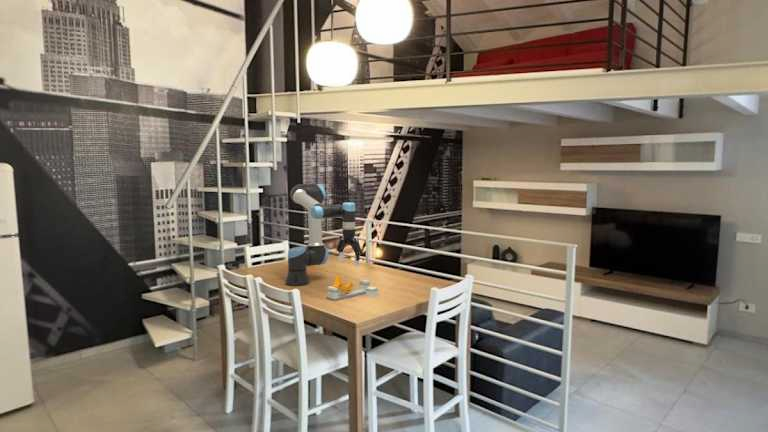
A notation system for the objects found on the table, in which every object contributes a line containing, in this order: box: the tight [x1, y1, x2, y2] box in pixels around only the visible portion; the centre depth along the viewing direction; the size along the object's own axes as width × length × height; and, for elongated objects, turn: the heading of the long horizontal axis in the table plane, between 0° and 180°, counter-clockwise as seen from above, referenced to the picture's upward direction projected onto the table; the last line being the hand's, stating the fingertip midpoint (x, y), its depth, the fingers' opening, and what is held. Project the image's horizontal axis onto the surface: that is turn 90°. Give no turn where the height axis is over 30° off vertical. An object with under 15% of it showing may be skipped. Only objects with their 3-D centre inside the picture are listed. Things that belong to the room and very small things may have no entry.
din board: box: [326, 288, 366, 302], centre depth 293 cm, size 8×28×1 cm, turn 136°
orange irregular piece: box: [332, 275, 354, 294], centre depth 289 cm, size 12×4×6 cm, turn 136°
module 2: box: [358, 279, 371, 291], centre depth 302 cm, size 6×3×6 cm, turn 46°
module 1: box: [326, 285, 339, 299], centre depth 284 cm, size 6×3×6 cm, turn 45°
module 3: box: [365, 286, 379, 299], centre depth 292 cm, size 5×5×5 cm
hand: (349, 264), depth 292 cm, fingers open, 13 cm apart
